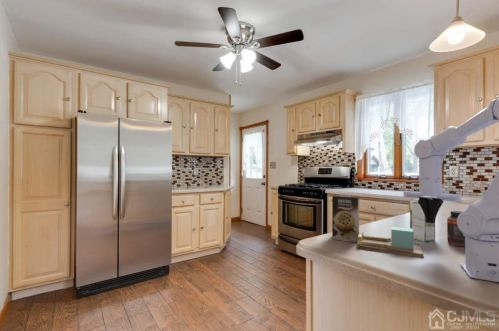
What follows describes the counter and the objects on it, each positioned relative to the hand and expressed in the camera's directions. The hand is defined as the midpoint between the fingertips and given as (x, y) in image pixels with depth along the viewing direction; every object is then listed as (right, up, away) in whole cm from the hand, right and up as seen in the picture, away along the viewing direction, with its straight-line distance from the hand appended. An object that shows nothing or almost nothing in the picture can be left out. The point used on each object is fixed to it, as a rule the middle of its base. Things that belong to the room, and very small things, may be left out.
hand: (430, 222), depth 78 cm
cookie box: (-20, -10, +16) cm, 28 cm away
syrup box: (+8, -10, +15) cm, 20 cm away
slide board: (-10, -10, +6) cm, 15 cm away
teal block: (-7, -9, +4) cm, 11 cm away
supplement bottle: (+16, -10, +8) cm, 20 cm away
